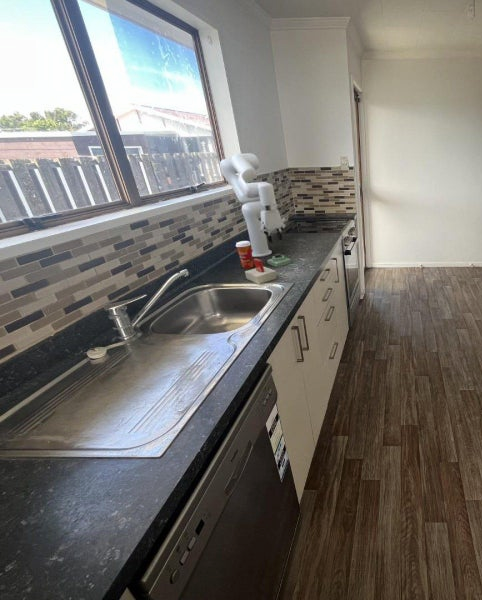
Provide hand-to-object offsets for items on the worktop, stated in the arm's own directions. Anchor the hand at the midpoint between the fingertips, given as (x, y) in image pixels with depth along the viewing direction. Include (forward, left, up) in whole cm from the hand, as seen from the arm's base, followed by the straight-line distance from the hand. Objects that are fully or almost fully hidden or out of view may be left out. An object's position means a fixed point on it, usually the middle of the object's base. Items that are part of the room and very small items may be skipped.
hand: (275, 240), depth 183 cm
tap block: (+14, -19, -13) cm, 27 cm away
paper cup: (-9, -14, -14) cm, 22 cm away
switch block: (0, 0, -13) cm, 13 cm away
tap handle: (+14, -19, -9) cm, 25 cm away
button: (0, 0, -10) cm, 10 cm away
